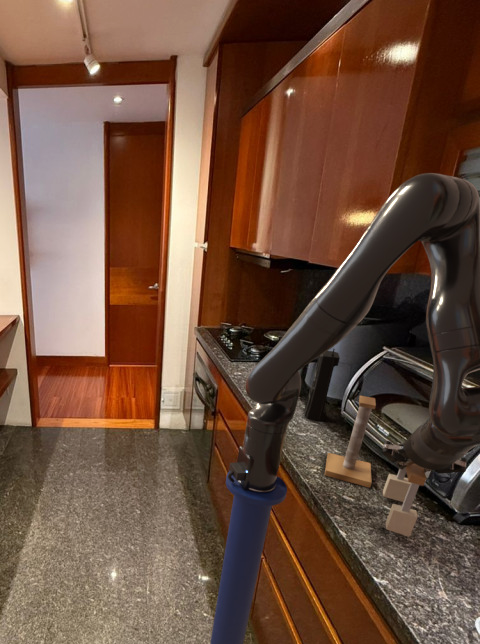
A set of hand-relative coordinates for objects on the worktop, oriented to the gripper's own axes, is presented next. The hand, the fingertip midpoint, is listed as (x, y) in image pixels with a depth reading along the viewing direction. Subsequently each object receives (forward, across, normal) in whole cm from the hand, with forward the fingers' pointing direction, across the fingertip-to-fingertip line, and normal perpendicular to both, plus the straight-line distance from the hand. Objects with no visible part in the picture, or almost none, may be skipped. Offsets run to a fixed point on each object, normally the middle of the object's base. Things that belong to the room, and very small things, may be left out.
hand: (409, 466), depth 84 cm
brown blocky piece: (+6, 0, +9) cm, 11 cm away
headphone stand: (+17, +9, 0) cm, 20 cm away
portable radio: (+40, +20, -23) cm, 50 cm away
